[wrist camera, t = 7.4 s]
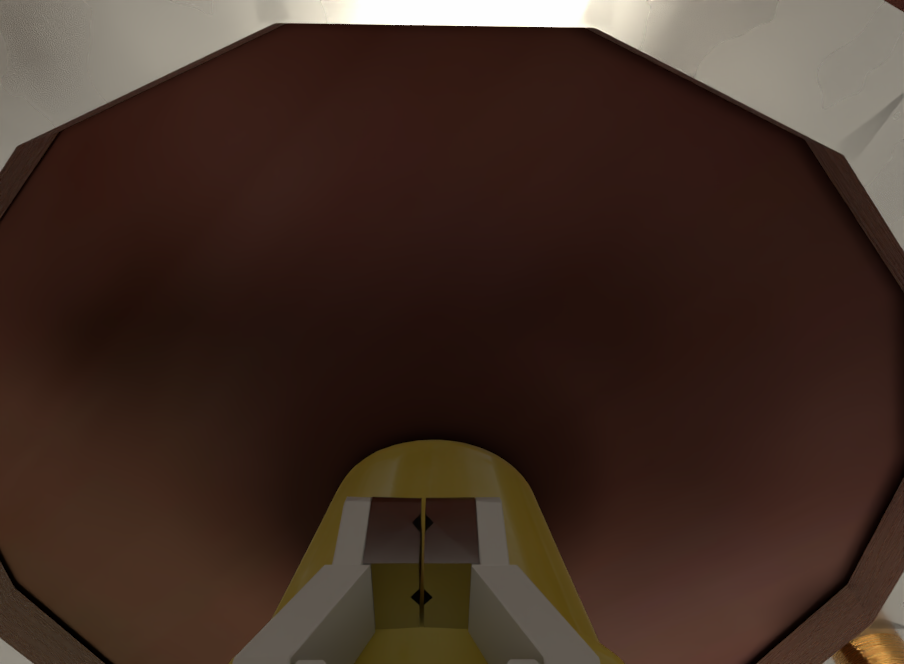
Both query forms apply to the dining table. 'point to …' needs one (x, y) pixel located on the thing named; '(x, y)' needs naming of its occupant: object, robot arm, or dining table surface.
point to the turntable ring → (524, 5)
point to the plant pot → (423, 476)
